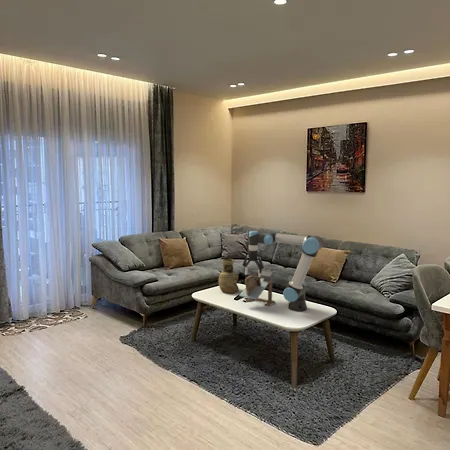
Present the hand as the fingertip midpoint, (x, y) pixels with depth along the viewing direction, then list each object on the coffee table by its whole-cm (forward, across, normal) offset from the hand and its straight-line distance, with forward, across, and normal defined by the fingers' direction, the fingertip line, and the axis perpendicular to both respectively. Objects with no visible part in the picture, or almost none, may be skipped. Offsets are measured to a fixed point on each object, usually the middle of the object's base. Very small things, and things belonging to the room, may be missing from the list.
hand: (252, 275), depth 331 cm
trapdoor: (+13, 0, -9) cm, 16 cm away
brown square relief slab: (+13, -1, -1) cm, 13 cm away
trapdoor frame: (+26, 0, -13) cm, 29 cm away
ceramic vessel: (+26, +40, -23) cm, 53 cm away
